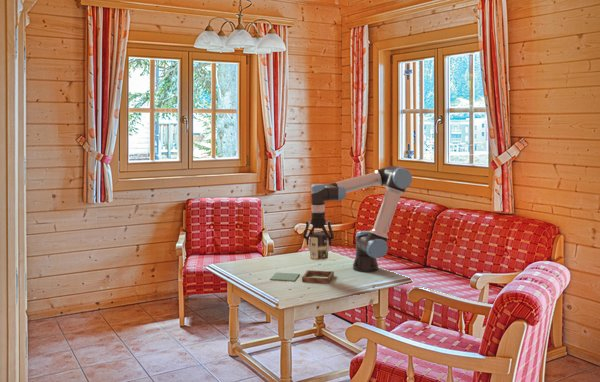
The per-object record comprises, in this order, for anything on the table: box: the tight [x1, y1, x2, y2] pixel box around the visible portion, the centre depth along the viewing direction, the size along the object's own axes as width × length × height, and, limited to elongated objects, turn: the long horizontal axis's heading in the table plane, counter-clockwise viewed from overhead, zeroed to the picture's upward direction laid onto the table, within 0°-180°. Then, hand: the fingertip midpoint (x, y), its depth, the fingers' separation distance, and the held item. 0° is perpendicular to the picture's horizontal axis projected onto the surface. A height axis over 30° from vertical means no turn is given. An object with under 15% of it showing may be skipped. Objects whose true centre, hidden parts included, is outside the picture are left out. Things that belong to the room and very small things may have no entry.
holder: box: [301, 269, 335, 284], centre depth 332 cm, size 15×15×2 cm
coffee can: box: [308, 231, 329, 261], centre depth 329 cm, size 10×10×14 cm
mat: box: [269, 272, 301, 282], centre depth 335 cm, size 14×14×1 cm
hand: (318, 250), depth 330 cm, fingers closed on coffee can, 10 cm apart
